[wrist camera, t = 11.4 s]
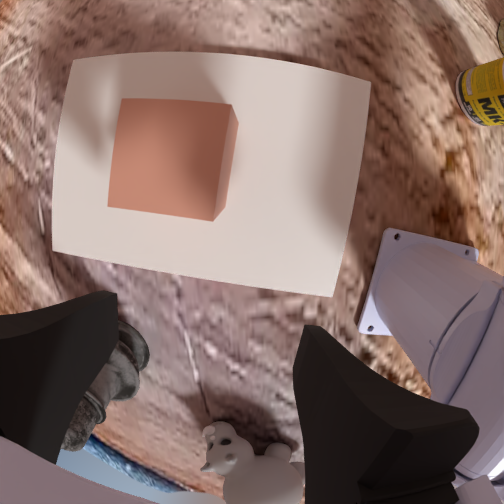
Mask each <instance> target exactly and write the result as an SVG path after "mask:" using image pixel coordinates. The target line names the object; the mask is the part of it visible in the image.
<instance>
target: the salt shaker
mask: <svg viewBox="0 0 504 504" xmlns="http://www.w3.org/2000/svg"><path fill="white" fill-rule="evenodd" d="M118 327H119V340H118V342H117V344H116V346H115V348H114V350H113V352H112V354H111V356H110V358H109V359H108V361H107V362H106V364H105V365H104V367H103V368H102V370H101V371H100V372H99V374H98V375H97V377H96V378H95V380H94V381H93V383H92V384H91V385H90V387H89V388H88V390H87V391H86V393H85V394H84V396H83V398H82V400H81V401H80V403H79V405H78V407H77V409H76V411H75V414H74V416H73V418H72V420H71V422H70V425H69V427H68V430H67V432H66V435H65V437H64V440H63V443H62V446H61V449H64V450H68V451H78V450H81V449H82V448H83V447H84V445H85V444H86V442H87V440H88V438H89V436H90V434H91V432H92V431H93V429H94V427H95V425H96V424H100V423H103V422H104V421H105V419H106V412H105V409H106V408H107V406H108V404H109V402H110V400H113V401H126V400H129V399H132V398H133V397H134V396H135V395H136V394H137V392H138V390H139V384H140V380H139V371H142V370H143V369H144V368H145V367H146V366H147V363H148V361H149V355H150V354H149V349H148V346H147V344H146V342H145V340H144V338H143V337H142V336H141V335H140V333H139V332H137V331H136V330H135V329H134V328H133V327H131V326H130V325H128V324H126V323H124V322H121V321H118Z"/></svg>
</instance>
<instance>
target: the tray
mask: <svg viewBox="0 0 504 504" xmlns="http://www.w3.org/2000/svg"><path fill="white" fill-rule="evenodd" d="M370 90H371V82H369V81H366V80H363V79H359V78H356V77H353V76H349V75H345V74H342V73H338V72H334V71H330V70H326V69H321V68H317V67H312V66H308V65H303V64H298V63H292V62H287V61H281V60H275V59H268V58H261V57H253V56H245V55H235V54H223V53H208V52H139V53H124V54H113V55H104V56H95V57H88V58H81V59H75V60H73V63H72V67H71V71H70V75H69V79H68V83H67V87H66V92H65V97H64V102H63V107H62V112H61V118H60V124H59V131H58V138H57V146H56V155H55V165H54V177H53V195H52V250H53V251H56V252H61V253H66V254H71V255H76V256H81V257H85V258H91V259H96V260H101V261H106V262H111V263H116V264H122V265H127V266H132V267H138V268H143V269H149V270H154V271H160V272H166V273H172V274H177V275H183V276H189V277H195V278H201V279H208V280H214V281H220V282H227V283H233V284H240V285H246V286H253V287H260V288H267V289H274V290H281V291H288V292H295V293H303V294H310V295H318V296H326V297H333V293H334V289H335V285H336V281H337V277H338V273H339V269H340V265H341V261H342V257H343V252H344V248H345V244H346V239H347V235H348V230H349V225H350V220H351V216H352V211H353V206H354V200H355V195H356V190H357V184H358V178H359V172H360V166H361V160H362V154H363V147H364V140H365V133H366V125H367V117H368V109H369V100H370ZM122 98H146V99H174V100H191V101H203V102H214V103H223V104H232V107H233V109H234V112H235V114H236V117H237V120H238V122H239V125H238V131H237V137H236V143H235V149H234V155H233V161H232V167H231V174H230V180H229V187H228V193H227V200H226V206H225V208H224V209H223V211H222V212H221V213H220V214H219V215H218V216H217V218H216V219H215V220H214V221H213V222H212V221H205V220H198V219H192V218H185V217H178V216H171V215H164V214H157V213H150V212H143V211H135V210H128V209H121V208H113V207H107V205H108V192H109V181H110V171H111V162H112V154H113V147H114V140H115V134H116V127H117V121H118V116H119V110H120V105H121V100H122Z"/></svg>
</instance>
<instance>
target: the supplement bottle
mask: <svg viewBox="0 0 504 504" xmlns="http://www.w3.org/2000/svg"><path fill="white" fill-rule="evenodd" d="M456 95H457V99H458V102H459V105H460V107H461V109H462V110H463V112H464V113H465V115H466V116H467V117H468V118H469V119H470V120H471V121H472V122H474V123H475V124H478V125H481V126H490V125H504V57H503V58H500V59H497V60H494V61H491V62H488V63H485V64H482V65H479V66H476V67H473V68H471V69H468V70H465V71H463V72H461V73H460V74H459V76H458V77H457V80H456Z"/></svg>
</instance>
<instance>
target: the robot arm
mask: <svg viewBox="0 0 504 504" xmlns="http://www.w3.org/2000/svg"><path fill="white" fill-rule="evenodd" d="M397 233H398V238H397V239H396V240H395V239H394V236H395V234H397ZM466 250H467V252H466V254H465V251H466ZM478 255H479V251H478V249H476V248H474V247H471V246H467V245H463V244H459V243H455V242H451V241H447V240H443V239H438V238H434V237H430V236H426V235H421V234H417V233H413V232H408V231H404V230H399V229H395V228H387V229H386V230H385V231H384V233H383V237H382V241H381V245H380V249H379V253H378V257H377V261H376V265H375V268H374V272H373V276H372V279H371V283H370V286H369V290H368V293H367V297H366V300H365V303H364V307H363V310H362V313H361V316H360V319H359V322H358V325H357V329H358V331H359V332H360V333H362V334H375V335H391V336H394V338H395V339H396V340H397V342H398V343H399V345H400V346H401V347H402V349H403V350H404V352H405V353H406V354H407V356H408V357H409V358H410V360H411V361H412V363H413V364H414V366H415V367H416V368H417V370H418V371H419V373H420V374H421V376H422V377H423V378H424V380H425V381H426V383H427V384H428V386H429V387H430V389H431V392H432V393H431V398H430V399H428V398H425V397H422V396H420V395H417V394H415V393H413V392H410V391H408V390H406V389H404V388H402V387H400V386H398V385H396V384H394V383H393V382H391V381H389V380H387V379H386V378H384V377H383V376H381V375H379V374H378V373H376V372H375V371H373V370H372V369H371V368H369V367H368V366H366V365H365V364H364V363H363V362H361V361H360V360H359V359H357V358H356V357H355V356H354V355H353V354H351V353H350V352H349V351H348V350H347V349H346V348H345V347H343V346H342V345H341V344H340V343H339V342H338V341H337V340H336V339H335V338H334V337H332V336H331V335H330V334H329V333H328V332H327V331H326V330H325V329H323V328H322V327H321V326H313V325H304V329H303V333H302V336H301V340H300V344H299V347H298V351H297V355H296V358H295V362H294V365H293V387H294V394H295V400H296V405H297V410H298V415H299V420H300V425H301V431H302V436H303V444H304V461H305V504H502V502H501V500H503V501H504V277H503V276H501V275H500V274H498V273H496V272H494V271H492V270H491V269H489V268H487V267H485V266H483V265H481V264H479V263H477V259H478ZM369 326H372V327H371V328H370V329H367V328H368V327H369ZM118 340H119V327H118V309H117V294H116V293H112V292H108V291H99V292H95V293H91V294H88V295H84V296H81V297H78V298H75V299H72V300H69V301H66V302H63V303H60V304H56V305H53V306H49V307H46V308H42V309H38V310H34V311H29V312H23V313H17V314H8V315H0V504H158V503H155V502H152V501H149V500H147V499H144V498H141V497H137V496H134V495H130V494H127V493H124V492H121V491H118V490H115V489H112V488H109V487H106V486H104V485H101V484H98V483H96V482H93V481H90V480H88V479H85V478H83V477H80V476H78V475H76V474H74V473H72V472H69V471H67V470H65V469H63V468H61V467H59V466H57V465H56V462H57V458H58V455H59V452H60V449H61V446H62V443H63V440H64V437H65V435H66V432H67V430H68V427H69V425H70V422H71V420H72V418H73V416H74V414H75V411H76V409H77V407H78V405H79V403H80V401H81V400H82V398H83V396H84V394H85V393H86V391H87V390H88V388H89V387H90V385H91V384H92V383H93V381H94V380H95V378H96V377H97V375H98V374H99V372H100V371H101V370H102V368H103V367H104V365H105V364H106V362H107V361H108V359H109V358H110V356H111V354H112V352H113V350H114V348H115V346H116V344H117V342H118ZM452 484H453V485H455V486H457V488H456V489H454V487H453V485H452ZM500 499H501V500H500Z"/></svg>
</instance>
